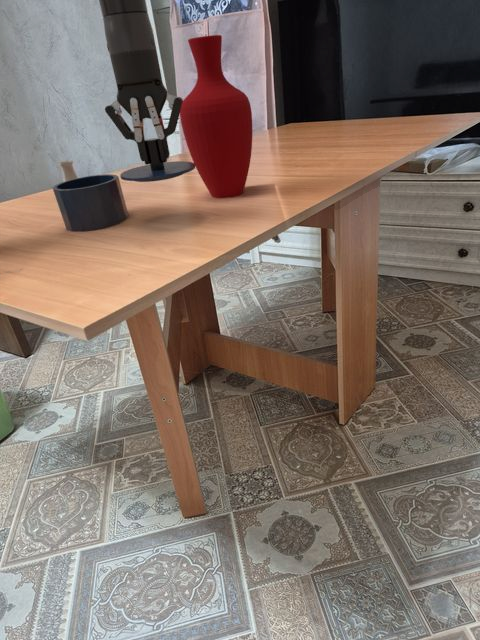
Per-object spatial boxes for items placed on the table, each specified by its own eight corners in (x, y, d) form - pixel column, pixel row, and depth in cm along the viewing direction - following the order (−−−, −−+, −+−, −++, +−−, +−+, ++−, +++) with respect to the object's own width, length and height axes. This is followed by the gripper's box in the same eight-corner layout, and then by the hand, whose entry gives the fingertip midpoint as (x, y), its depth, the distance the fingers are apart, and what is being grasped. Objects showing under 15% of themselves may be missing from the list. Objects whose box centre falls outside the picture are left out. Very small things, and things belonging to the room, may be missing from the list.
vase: (209, 189, 113) (185, 41, 97) (268, 186, 108) (252, 31, 93) (184, 207, 101) (152, 42, 85) (249, 204, 97) (227, 30, 81)
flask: (91, 199, 118) (79, 157, 113) (95, 204, 112) (82, 160, 107) (62, 205, 116) (48, 162, 110) (64, 211, 110) (50, 166, 105)
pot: (58, 237, 91) (43, 193, 87) (77, 219, 102) (64, 179, 98) (121, 229, 91) (109, 185, 87) (133, 212, 102) (123, 171, 97)
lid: (114, 188, 80) (104, 150, 77) (129, 172, 91) (121, 138, 88) (192, 179, 80) (186, 140, 76) (198, 164, 91) (192, 130, 88)
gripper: (177, 45, 78) (196, 154, 87) (96, 55, 79) (122, 163, 88) (172, 43, 72) (192, 162, 81) (83, 54, 72) (113, 171, 81)
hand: (156, 162), depth 84 cm, fingers closed on lid, 2 cm apart
